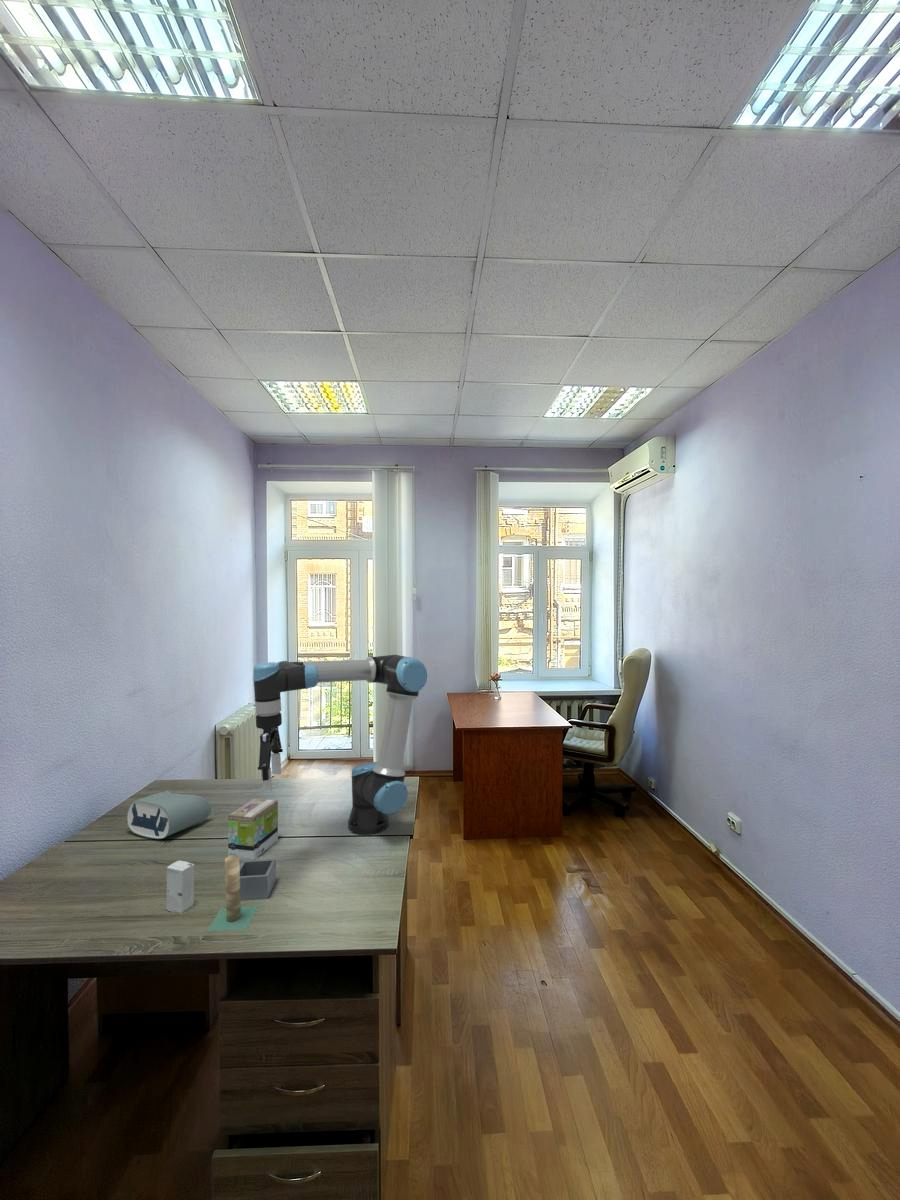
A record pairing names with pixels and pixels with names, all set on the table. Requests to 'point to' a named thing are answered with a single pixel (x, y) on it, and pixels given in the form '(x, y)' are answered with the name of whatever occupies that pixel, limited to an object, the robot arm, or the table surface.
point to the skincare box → (180, 886)
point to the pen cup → (257, 879)
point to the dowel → (232, 888)
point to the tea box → (253, 828)
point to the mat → (242, 923)
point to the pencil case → (166, 814)
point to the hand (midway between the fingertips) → (272, 781)
